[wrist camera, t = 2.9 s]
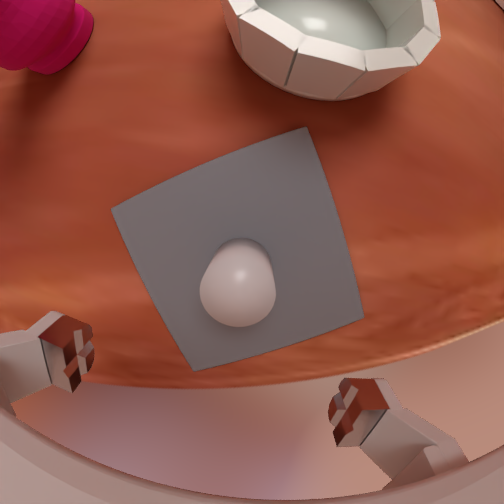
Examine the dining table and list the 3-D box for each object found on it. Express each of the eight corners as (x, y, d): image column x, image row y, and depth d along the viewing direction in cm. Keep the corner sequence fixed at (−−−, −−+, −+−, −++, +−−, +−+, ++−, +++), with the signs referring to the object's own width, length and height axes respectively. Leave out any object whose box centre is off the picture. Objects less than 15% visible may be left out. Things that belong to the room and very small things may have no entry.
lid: (303, 128, 15) (322, 111, 11) (359, 311, 19) (386, 349, 14) (117, 207, 17) (75, 219, 12) (196, 363, 20) (182, 408, 15)
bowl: (348, -28, 11) (371, -72, 5) (417, 87, 14) (469, 64, 8) (208, -5, 12) (192, -58, 6) (268, 122, 15) (274, 93, 9)
